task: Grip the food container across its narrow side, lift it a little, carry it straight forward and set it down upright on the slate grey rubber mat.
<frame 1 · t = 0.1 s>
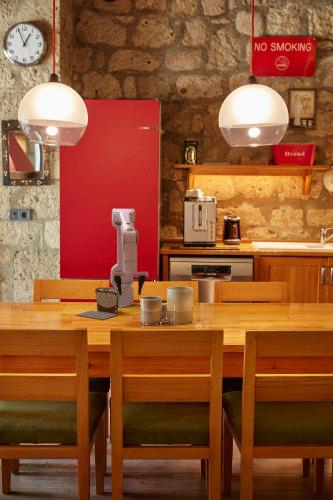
hand: (129, 295, 219), 10 cm above the table, tool pointing down, fingers open, 7 cm apart
mat: (97, 315, 229), on the table
food container: (110, 312, 237), on the table
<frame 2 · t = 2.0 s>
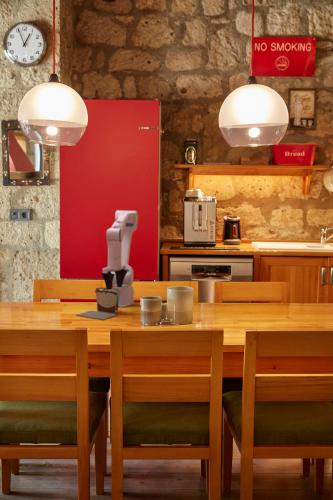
hand: (114, 288, 235), 10 cm above the table, tool pointing down, fingers open, 7 cm apart
nothing on the table moved.
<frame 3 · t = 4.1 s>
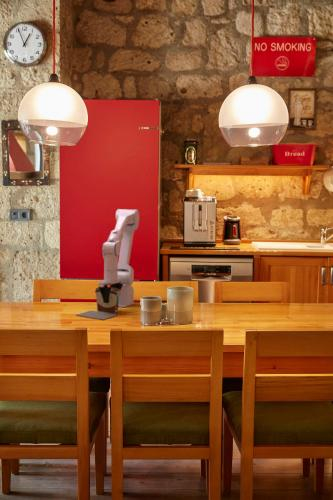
hand: (110, 301, 236), 4 cm above the table, tool pointing down, fingers closed on food container, 6 cm apart
food container: (110, 312, 237), on the table, touching gripper
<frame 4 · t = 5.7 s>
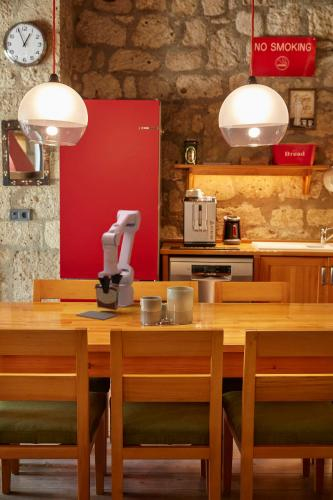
hand: (110, 292, 236), 8 cm above the table, tool pointing down, fingers closed on food container, 6 cm apart
food container: (110, 307, 237), point 2 cm above the table, touching gripper
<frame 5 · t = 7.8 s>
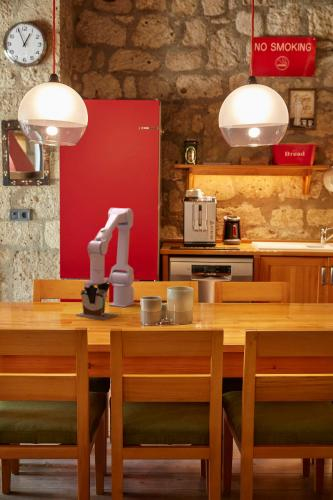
hand: (97, 302, 228), 6 cm above the table, tool pointing down, fingers closed on food container, 6 cm apart
food container: (97, 314, 229), resting on mat, touching gripper
when the fingers open (6 cm above the table, at t = 8.8 s): food container stays where it is, resting on mat.
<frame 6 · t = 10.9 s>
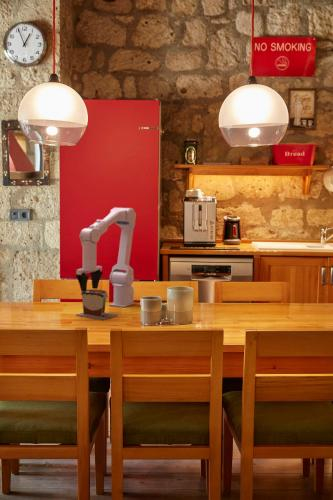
hand: (89, 289, 230), 10 cm above the table, tool pointing down, fingers open, 7 cm apart
food container: (97, 314, 229), resting on mat
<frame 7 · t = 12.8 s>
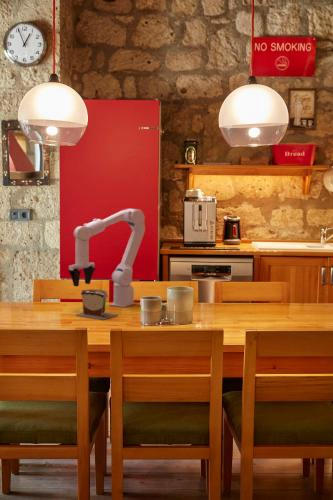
hand: (81, 284, 241), 10 cm above the table, tool pointing down, fingers open, 7 cm apart
nothing on the table moved.
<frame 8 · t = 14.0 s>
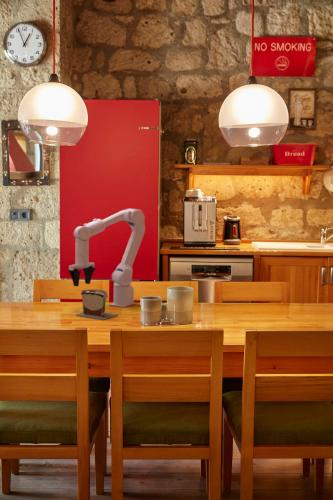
hand: (81, 284, 241), 10 cm above the table, tool pointing down, fingers open, 7 cm apart
nothing on the table moved.
at the end: food container inside the target area on the mat (0.4 cm from its centre), point 0.2 cm above the mat's base; food container tilted 0°; the gripper is holding nothing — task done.
